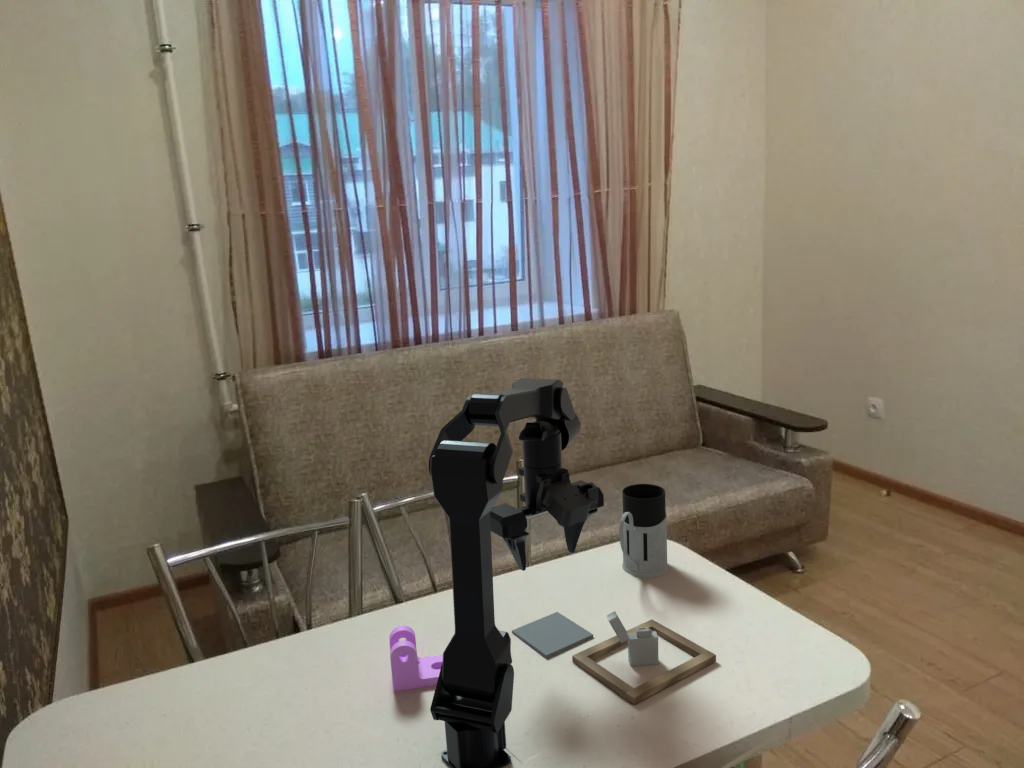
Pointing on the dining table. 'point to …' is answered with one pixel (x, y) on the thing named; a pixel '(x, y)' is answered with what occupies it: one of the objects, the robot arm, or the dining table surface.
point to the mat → (552, 634)
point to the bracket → (411, 662)
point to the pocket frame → (653, 685)
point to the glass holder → (644, 531)
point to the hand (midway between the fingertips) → (547, 560)
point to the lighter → (637, 642)
